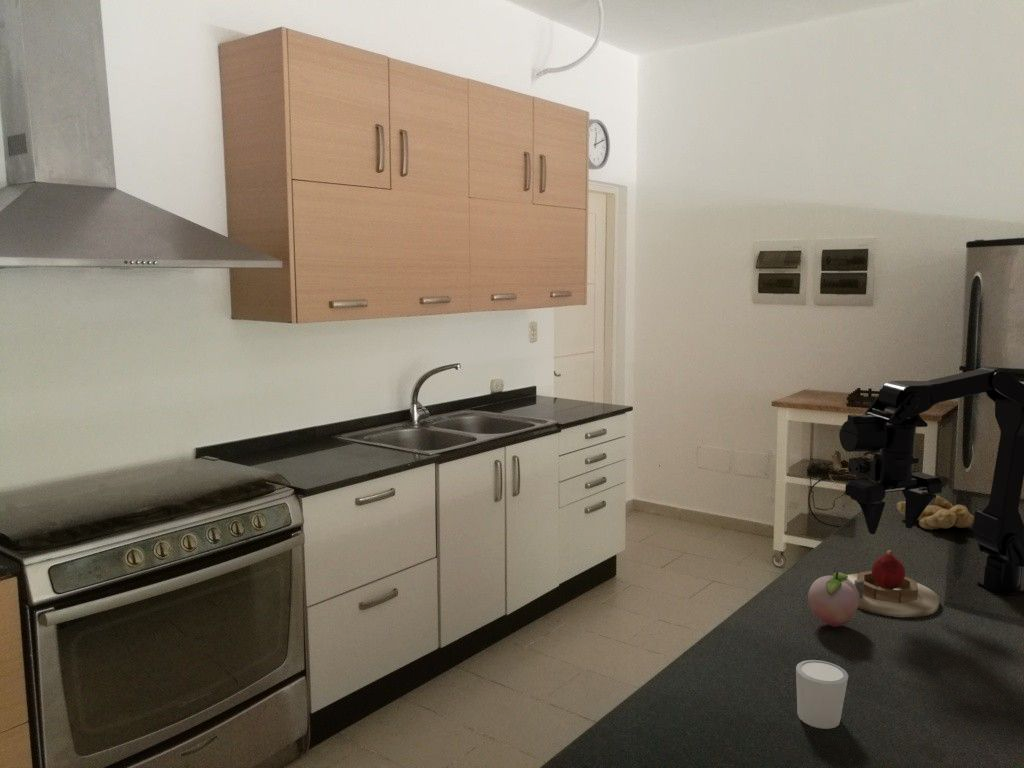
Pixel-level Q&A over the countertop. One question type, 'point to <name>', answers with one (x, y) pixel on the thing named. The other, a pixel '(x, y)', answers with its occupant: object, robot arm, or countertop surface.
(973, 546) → the countertop surface
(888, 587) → the onion
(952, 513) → the ginger root
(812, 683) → the white cup
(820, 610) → the decorative fruit
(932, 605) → the flange plate
